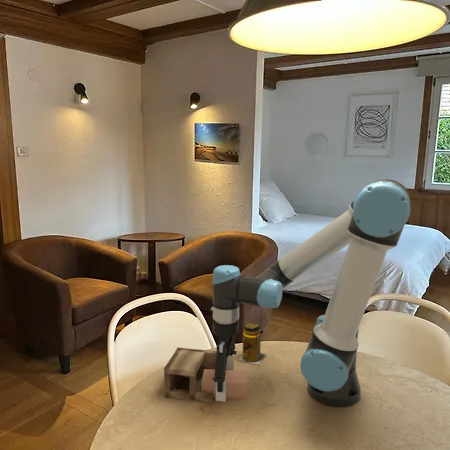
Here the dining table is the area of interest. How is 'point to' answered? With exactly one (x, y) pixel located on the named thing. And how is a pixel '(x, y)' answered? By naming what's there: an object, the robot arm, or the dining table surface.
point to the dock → (188, 373)
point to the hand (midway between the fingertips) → (225, 387)
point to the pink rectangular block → (234, 383)
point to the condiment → (252, 344)
